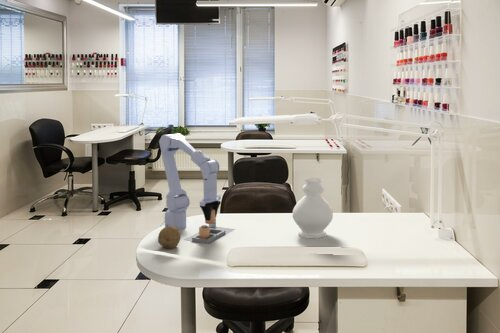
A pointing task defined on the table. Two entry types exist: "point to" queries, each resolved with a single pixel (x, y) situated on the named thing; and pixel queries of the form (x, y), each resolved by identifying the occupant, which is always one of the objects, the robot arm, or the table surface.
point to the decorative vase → (312, 210)
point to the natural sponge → (169, 237)
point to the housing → (214, 235)
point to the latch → (213, 224)
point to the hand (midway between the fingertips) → (210, 218)
